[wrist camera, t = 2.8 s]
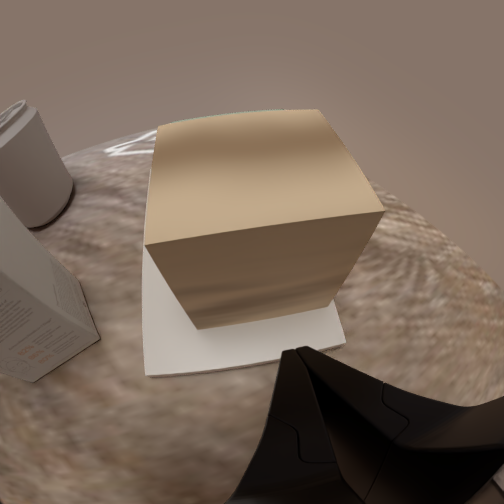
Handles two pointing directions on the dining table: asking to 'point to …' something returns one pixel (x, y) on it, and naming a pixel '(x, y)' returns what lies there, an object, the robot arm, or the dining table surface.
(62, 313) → the small box
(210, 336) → the laminate slab
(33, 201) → the can
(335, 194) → the oak block
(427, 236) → the dining table surface
